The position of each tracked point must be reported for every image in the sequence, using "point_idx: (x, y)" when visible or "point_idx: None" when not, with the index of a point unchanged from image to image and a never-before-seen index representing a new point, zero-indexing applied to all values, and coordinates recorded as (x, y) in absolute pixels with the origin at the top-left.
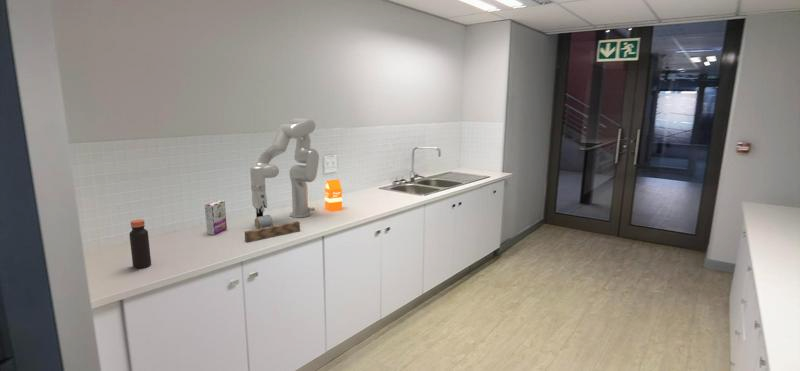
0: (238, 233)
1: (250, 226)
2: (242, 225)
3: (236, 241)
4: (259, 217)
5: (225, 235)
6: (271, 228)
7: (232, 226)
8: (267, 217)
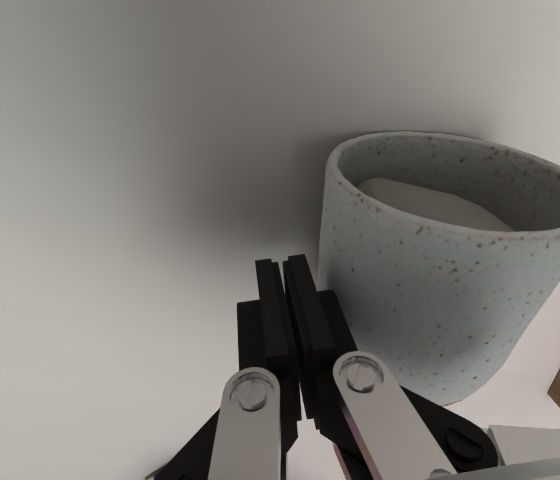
0: None
1: (188, 309)
2: (106, 359)
3: (506, 424)
4: (469, 388)
5: (337, 458)
6: None
7: (107, 420)
8: (557, 284)
